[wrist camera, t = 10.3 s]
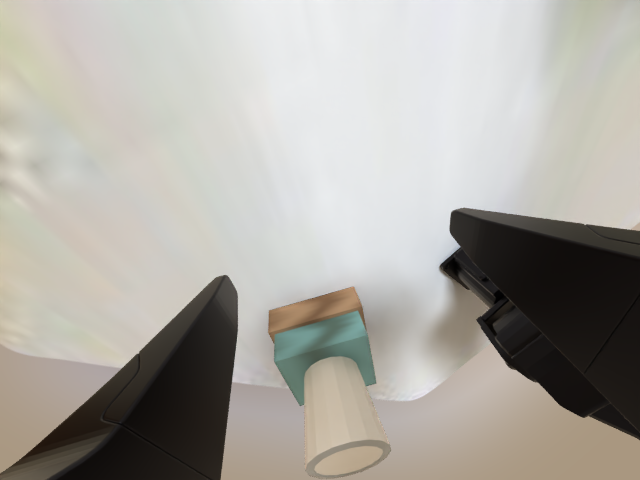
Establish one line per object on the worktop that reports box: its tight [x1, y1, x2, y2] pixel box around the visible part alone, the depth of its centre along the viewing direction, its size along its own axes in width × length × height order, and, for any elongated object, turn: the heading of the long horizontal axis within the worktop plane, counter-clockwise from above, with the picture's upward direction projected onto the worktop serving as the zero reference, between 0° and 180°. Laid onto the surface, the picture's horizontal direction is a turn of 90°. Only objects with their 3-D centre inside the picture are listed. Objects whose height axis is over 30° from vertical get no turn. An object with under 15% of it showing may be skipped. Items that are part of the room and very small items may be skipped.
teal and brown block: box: [268, 287, 376, 406], centre depth 26 cm, size 10×10×6 cm
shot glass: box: [304, 356, 391, 478], centre depth 21 cm, size 7×7×7 cm
